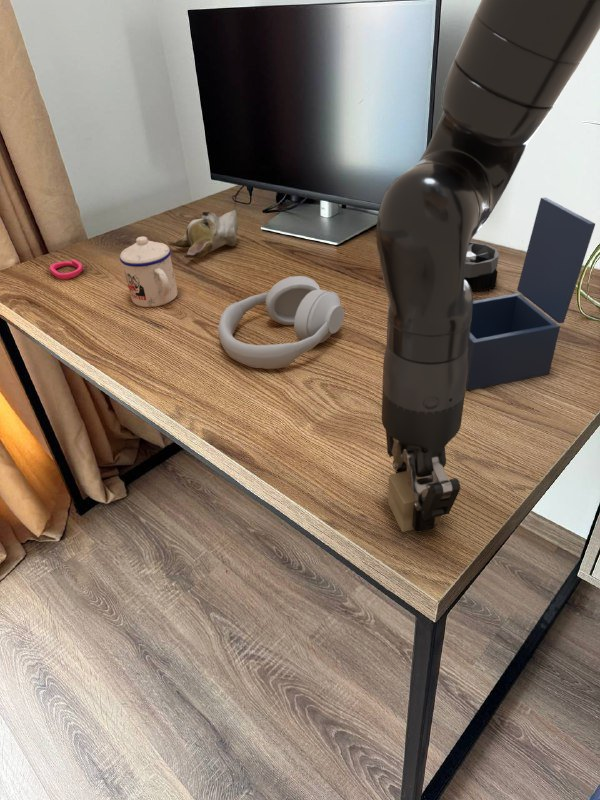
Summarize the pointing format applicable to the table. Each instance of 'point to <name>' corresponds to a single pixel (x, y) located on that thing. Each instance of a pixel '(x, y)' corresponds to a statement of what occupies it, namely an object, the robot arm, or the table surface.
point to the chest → (509, 341)
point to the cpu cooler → (481, 266)
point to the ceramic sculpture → (208, 234)
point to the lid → (554, 258)
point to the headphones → (284, 322)
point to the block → (403, 500)
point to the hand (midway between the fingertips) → (413, 510)
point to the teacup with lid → (149, 273)
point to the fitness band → (66, 275)
